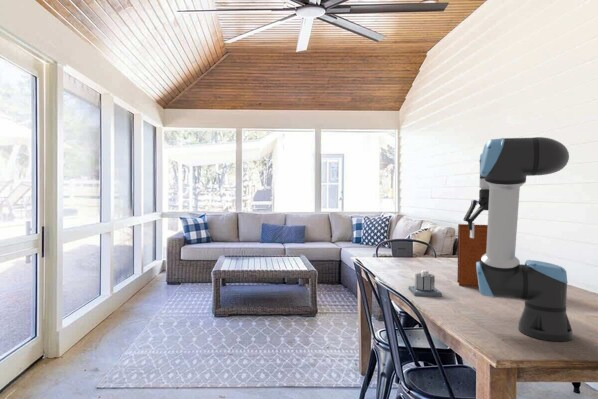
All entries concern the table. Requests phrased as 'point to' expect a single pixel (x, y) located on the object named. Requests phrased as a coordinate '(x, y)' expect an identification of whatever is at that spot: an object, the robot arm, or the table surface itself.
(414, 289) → the shaft block
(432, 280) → the hub
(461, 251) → the book
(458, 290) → the table surface
